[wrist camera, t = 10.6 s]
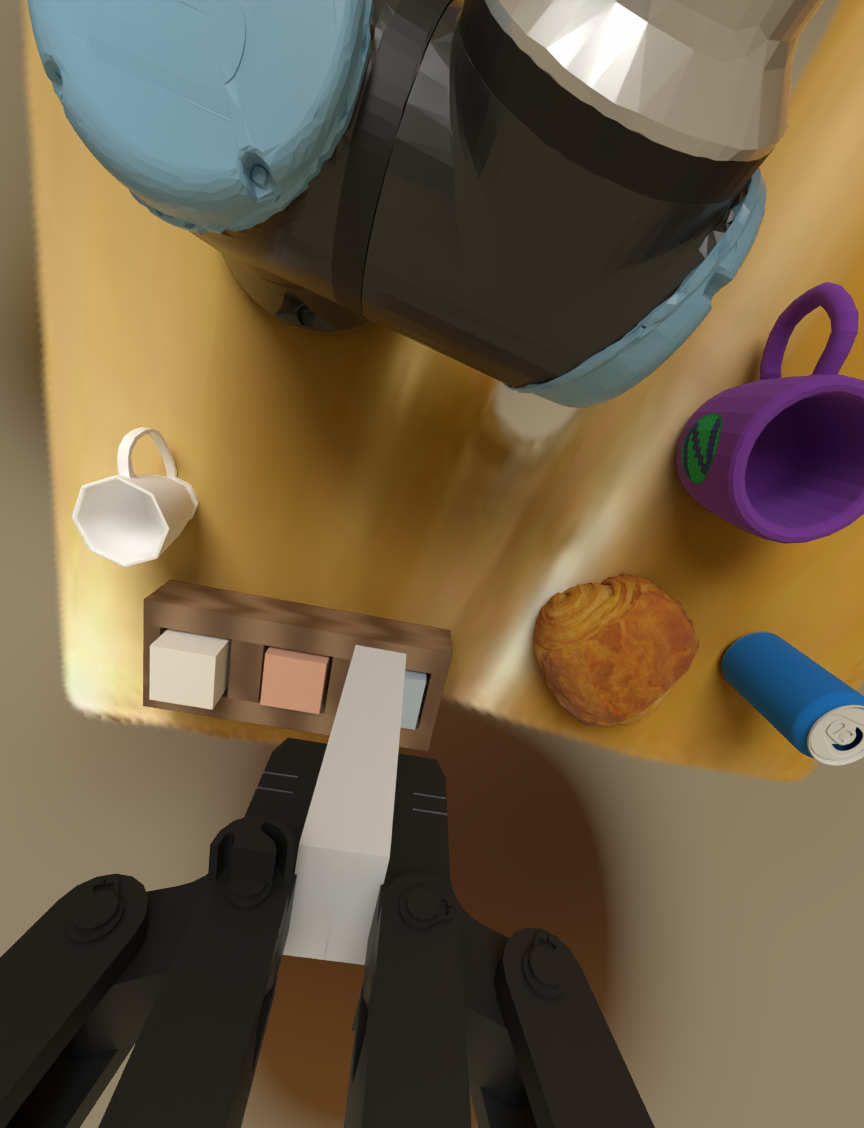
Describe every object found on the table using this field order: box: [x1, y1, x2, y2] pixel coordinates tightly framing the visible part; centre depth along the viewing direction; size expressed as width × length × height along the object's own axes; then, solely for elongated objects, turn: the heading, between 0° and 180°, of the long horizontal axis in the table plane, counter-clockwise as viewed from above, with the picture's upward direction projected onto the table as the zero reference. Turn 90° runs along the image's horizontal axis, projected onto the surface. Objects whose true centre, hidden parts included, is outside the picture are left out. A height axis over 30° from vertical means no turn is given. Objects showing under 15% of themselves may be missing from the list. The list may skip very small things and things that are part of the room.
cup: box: [72, 427, 199, 567], centre depth 39 cm, size 7×10×8 cm
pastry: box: [533, 573, 699, 727], centre depth 46 cm, size 14×16×8 cm
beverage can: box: [722, 632, 864, 765], centre depth 43 cm, size 6×6×12 cm
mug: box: [676, 282, 864, 543], centre depth 36 cm, size 17×11×10 cm, turn 175°
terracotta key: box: [260, 646, 333, 714], centre depth 46 cm, size 5×5×4 cm
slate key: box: [400, 669, 426, 730], centre depth 46 cm, size 5×5×4 cm
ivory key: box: [149, 629, 232, 710], centre depth 43 cm, size 5×5×4 cm
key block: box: [143, 580, 452, 751], centre depth 46 cm, size 27×11×4 cm, turn 78°
